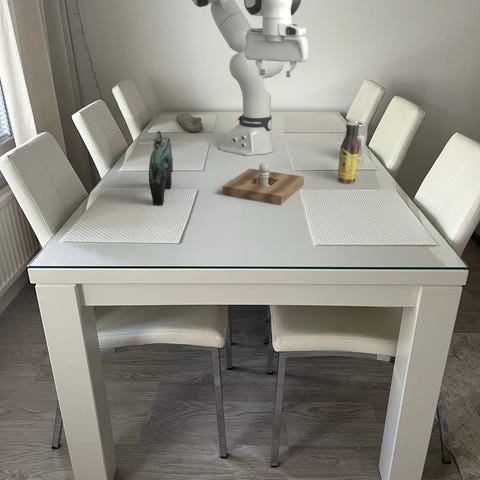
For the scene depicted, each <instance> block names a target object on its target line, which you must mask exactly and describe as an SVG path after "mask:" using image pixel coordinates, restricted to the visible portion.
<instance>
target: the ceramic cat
mask: <svg viewBox="0 0 480 480" xmlns="http://www.w3.org/2000/svg"><path fill="white" fill-rule="evenodd" d="M173 161H174V159H173V155H172V144H171V139H170V137H168V136H167V137H166V136H162V132H161V131H160V130H157V132H156V137H155V138H153V150H152V152H151V154H150V158H149V165H148V183H149V189H150V195H151V198H152V204H153V206H161V205H162V206H163V205H164V204H163V203H165V192H166V190H171V187H172V186H173V185H172V184H173V179H172V175H173V172H174V170H173V169H174V167H173V166H174V163H173Z"/></svg>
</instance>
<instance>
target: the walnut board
mask: <svg viewBox="0 0 480 480" xmlns="http://www.w3.org/2000/svg"><path fill="white" fill-rule="evenodd" d="M259 172H260V170H259V169H254V168H248V169H247V170H244V171H243V172H242V173H241V174H239V175H237V176H236V177H234V178H233V179H231V180H229V181H228V182H227V183H225V184H223V185H222V190H221V193H222V196H225V197H226V196H227V197H232V198H238V199H244V200H249V201H254V202H261V203H266V204H267V203H268V204H272V205H278V206H282V205H283V204H284V203H285V202H286V201H288V199H289V198H291V197H292V196H293V195H294V194H295V193H296V192H298V191H299V190H300V189H301V188H302V187H303V186H304V179H305V175H304V176H303V175H297V174H290V173H282V172H275V171H270V170H269V171H268V172H269V178H268V184H269V185H270V186H264V185H258V184H260V177H259Z"/></svg>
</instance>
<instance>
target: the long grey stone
mask: <svg viewBox="0 0 480 480" xmlns="http://www.w3.org/2000/svg"><path fill="white" fill-rule="evenodd" d="M176 121H177V122H178V124H179V125H180V126H181V127H182V128H183V130H185V131H186V132H191V133H195V132H201V130H203V123H202V117H195V116H193V115H191V113H188V112H181V113H179V114H177V115H176Z"/></svg>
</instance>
